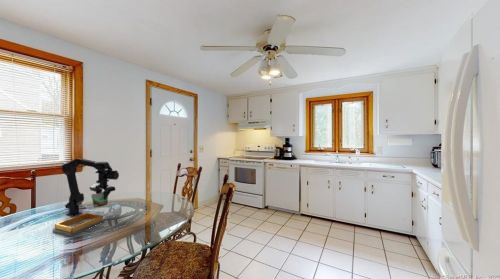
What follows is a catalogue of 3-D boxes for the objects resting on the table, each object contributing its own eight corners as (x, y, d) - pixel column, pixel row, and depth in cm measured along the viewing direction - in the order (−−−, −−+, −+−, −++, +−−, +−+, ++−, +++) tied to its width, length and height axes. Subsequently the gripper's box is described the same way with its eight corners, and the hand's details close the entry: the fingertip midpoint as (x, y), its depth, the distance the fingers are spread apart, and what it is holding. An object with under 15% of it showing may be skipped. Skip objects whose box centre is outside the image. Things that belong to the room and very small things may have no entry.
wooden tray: (52, 232, 125) (52, 224, 125) (87, 218, 145) (87, 211, 145) (71, 237, 121) (71, 229, 121) (104, 222, 141) (104, 215, 141)
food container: (98, 208, 144) (97, 194, 144) (91, 207, 146) (90, 194, 146) (113, 202, 156) (112, 190, 156) (107, 202, 158) (106, 190, 158)
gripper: (82, 179, 145) (81, 200, 146) (102, 182, 140) (101, 204, 141) (97, 176, 156) (96, 196, 157) (116, 179, 151) (115, 199, 152)
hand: (102, 199), depth 151 cm, fingers closed on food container, 6 cm apart
